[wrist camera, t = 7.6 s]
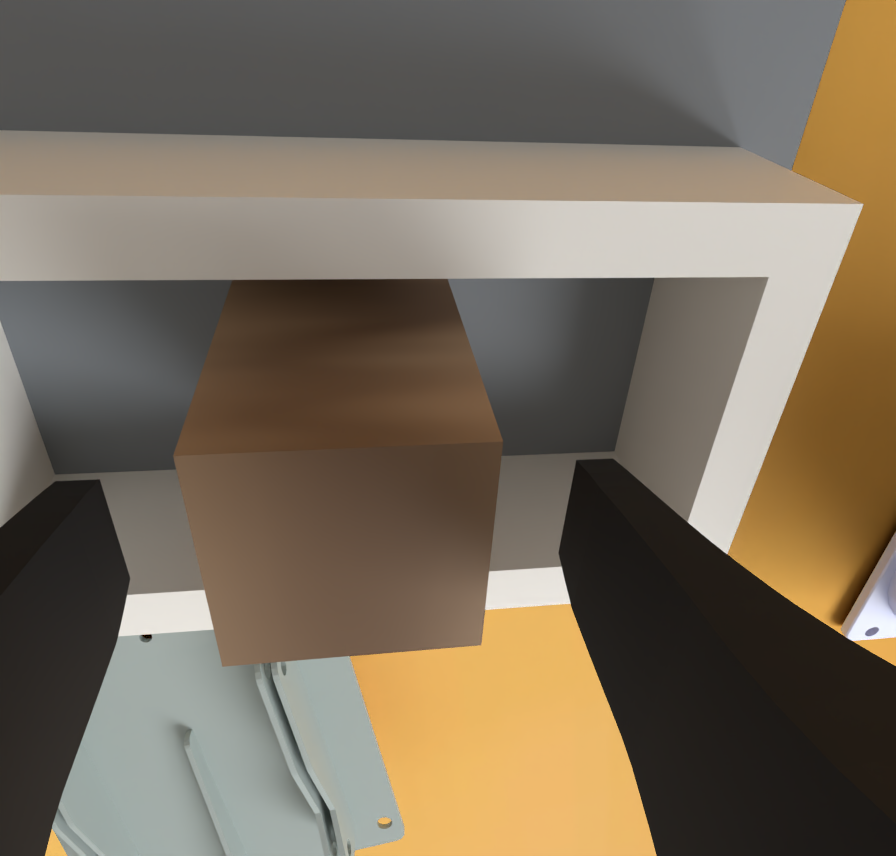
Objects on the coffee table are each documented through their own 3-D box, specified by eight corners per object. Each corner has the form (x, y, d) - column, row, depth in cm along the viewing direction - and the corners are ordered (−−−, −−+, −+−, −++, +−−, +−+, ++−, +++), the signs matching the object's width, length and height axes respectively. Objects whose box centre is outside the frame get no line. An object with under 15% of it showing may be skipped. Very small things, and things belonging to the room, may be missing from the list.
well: (823, -29, 13) (1041, -25, 9) (653, 536, 22) (727, 670, 17) (-286, -98, 11) (-680, -136, 6) (14, 574, 19) (-75, 742, 15)
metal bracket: (472, 892, 22) (25, 996, 22) (457, 754, 28) (99, 837, 28) (360, 504, 17) (-207, 636, 17) (368, 432, 23) (-62, 531, 23)
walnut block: (437, 249, 14) (503, 441, 9) (432, 408, 16) (481, 644, 11) (242, 250, 14) (173, 455, 8) (264, 414, 16) (222, 666, 10)
